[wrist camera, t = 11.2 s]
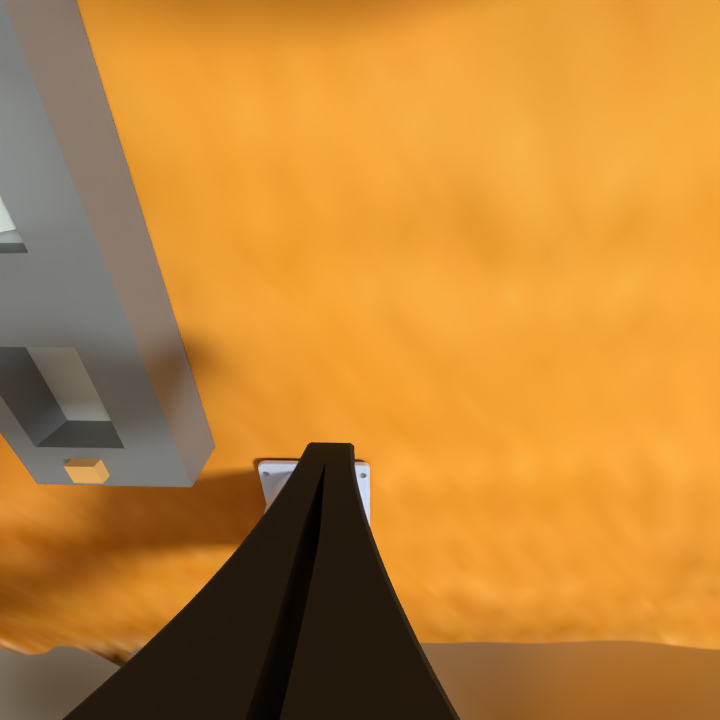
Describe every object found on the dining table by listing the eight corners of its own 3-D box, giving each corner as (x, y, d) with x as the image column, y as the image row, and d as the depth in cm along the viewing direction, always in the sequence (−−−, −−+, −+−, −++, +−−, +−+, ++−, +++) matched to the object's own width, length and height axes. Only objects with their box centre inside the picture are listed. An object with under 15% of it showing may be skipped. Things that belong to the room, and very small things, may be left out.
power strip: (215, 446, 24) (187, 495, 20) (79, 444, 24) (28, 492, 21) (60, -51, 12) (-72, -142, 8) (-200, -38, 12) (-429, -120, 9)
